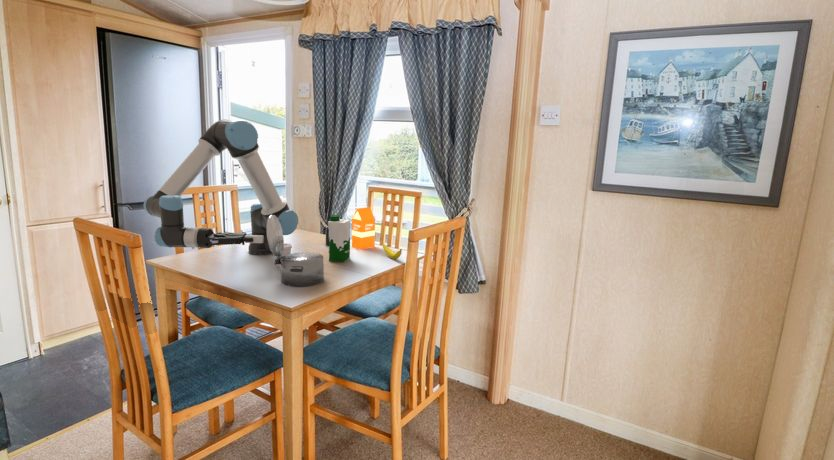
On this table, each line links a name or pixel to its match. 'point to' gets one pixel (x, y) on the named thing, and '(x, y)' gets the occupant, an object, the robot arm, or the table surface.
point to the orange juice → (363, 228)
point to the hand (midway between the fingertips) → (262, 239)
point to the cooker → (301, 269)
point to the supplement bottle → (327, 236)
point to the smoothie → (286, 250)
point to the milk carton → (339, 239)
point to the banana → (391, 252)
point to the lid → (275, 236)
